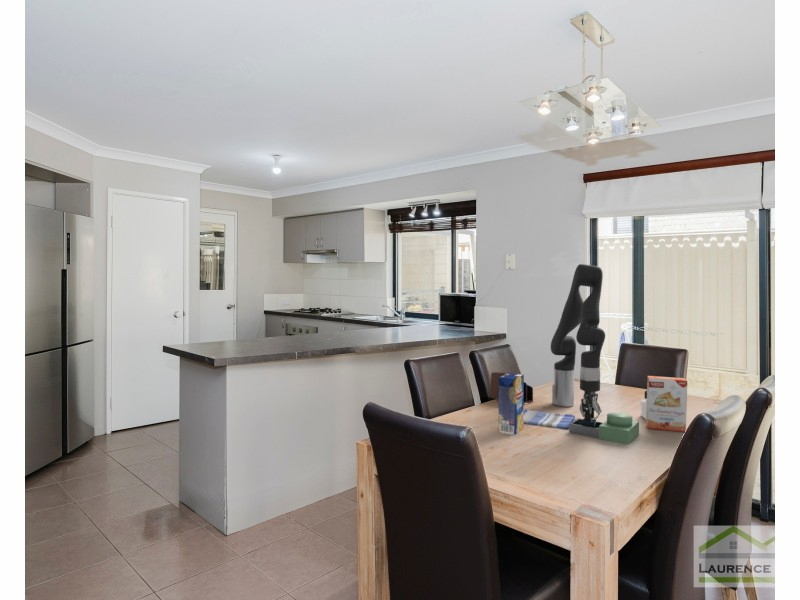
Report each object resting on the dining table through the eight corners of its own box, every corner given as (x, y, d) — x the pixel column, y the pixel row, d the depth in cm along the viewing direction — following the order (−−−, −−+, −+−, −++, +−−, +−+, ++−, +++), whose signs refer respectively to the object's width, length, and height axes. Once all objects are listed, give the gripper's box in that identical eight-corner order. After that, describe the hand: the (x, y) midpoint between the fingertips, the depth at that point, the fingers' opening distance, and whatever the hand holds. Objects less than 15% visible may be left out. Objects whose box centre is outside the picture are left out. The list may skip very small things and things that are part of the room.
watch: (599, 430, 197) (600, 403, 196) (577, 426, 201) (579, 399, 200) (601, 426, 202) (602, 399, 201) (579, 422, 206) (581, 396, 205)
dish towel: (522, 413, 232) (522, 407, 231) (576, 420, 220) (576, 414, 220) (511, 423, 216) (511, 416, 216) (568, 431, 205) (568, 424, 205)
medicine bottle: (663, 420, 218) (663, 393, 217) (645, 419, 219) (645, 392, 219) (658, 416, 225) (658, 389, 224) (640, 415, 226) (641, 388, 226)
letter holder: (519, 405, 245) (520, 376, 244) (489, 398, 261) (490, 370, 260) (533, 402, 251) (533, 374, 250) (503, 395, 267) (503, 368, 266)
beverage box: (523, 427, 208) (523, 374, 207) (515, 435, 198) (515, 379, 197) (507, 425, 211) (507, 372, 210) (498, 432, 202) (498, 377, 201)
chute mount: (569, 432, 201) (569, 423, 201) (577, 426, 209) (577, 418, 209) (599, 438, 194) (599, 429, 194) (607, 431, 202) (607, 423, 202)
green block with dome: (597, 438, 194) (598, 417, 193) (609, 428, 206) (610, 409, 206) (628, 444, 187) (628, 422, 186) (638, 433, 199) (639, 413, 199)
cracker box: (647, 429, 206) (648, 377, 205) (645, 425, 212) (646, 375, 211) (686, 432, 201) (687, 380, 200) (684, 428, 207) (685, 377, 206)
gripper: (586, 374, 208) (585, 415, 209) (574, 379, 197) (573, 423, 198) (605, 376, 204) (604, 418, 205) (594, 382, 193) (593, 427, 193)
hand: (589, 421), depth 201 cm, fingers closed on watch, 3 cm apart
